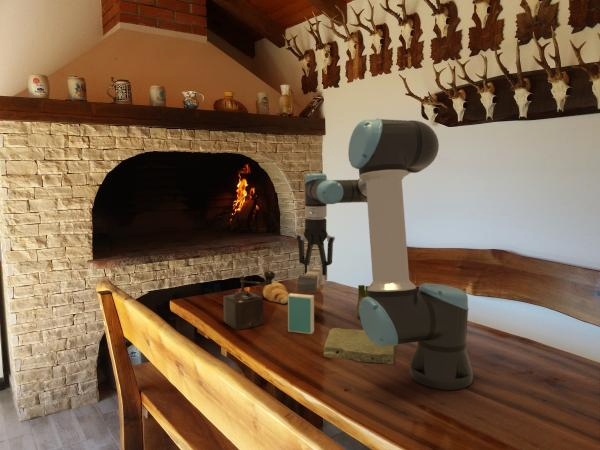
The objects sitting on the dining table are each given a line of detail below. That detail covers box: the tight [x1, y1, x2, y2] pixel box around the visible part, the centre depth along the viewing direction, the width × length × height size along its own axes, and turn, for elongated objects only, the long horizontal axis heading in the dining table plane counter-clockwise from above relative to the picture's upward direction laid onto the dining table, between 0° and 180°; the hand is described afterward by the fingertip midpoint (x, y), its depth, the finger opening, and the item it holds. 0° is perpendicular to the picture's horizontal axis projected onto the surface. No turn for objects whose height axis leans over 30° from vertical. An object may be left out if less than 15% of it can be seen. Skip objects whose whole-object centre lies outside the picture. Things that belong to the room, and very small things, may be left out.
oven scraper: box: [297, 265, 328, 294], centre depth 160 cm, size 18×6×5 cm, turn 161°
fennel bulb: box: [356, 284, 370, 319], centre depth 159 cm, size 6×5×12 cm
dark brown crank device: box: [222, 270, 276, 331], centre depth 155 cm, size 16×11×18 cm
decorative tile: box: [323, 327, 396, 365], centre depth 133 cm, size 19×20×4 cm
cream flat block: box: [287, 293, 315, 335], centre depth 146 cm, size 3×8×12 cm, turn 71°
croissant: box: [262, 281, 290, 305], centre depth 184 cm, size 21×10×8 cm, turn 27°
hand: (315, 283), depth 161 cm, fingers closed on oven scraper, 4 cm apart
